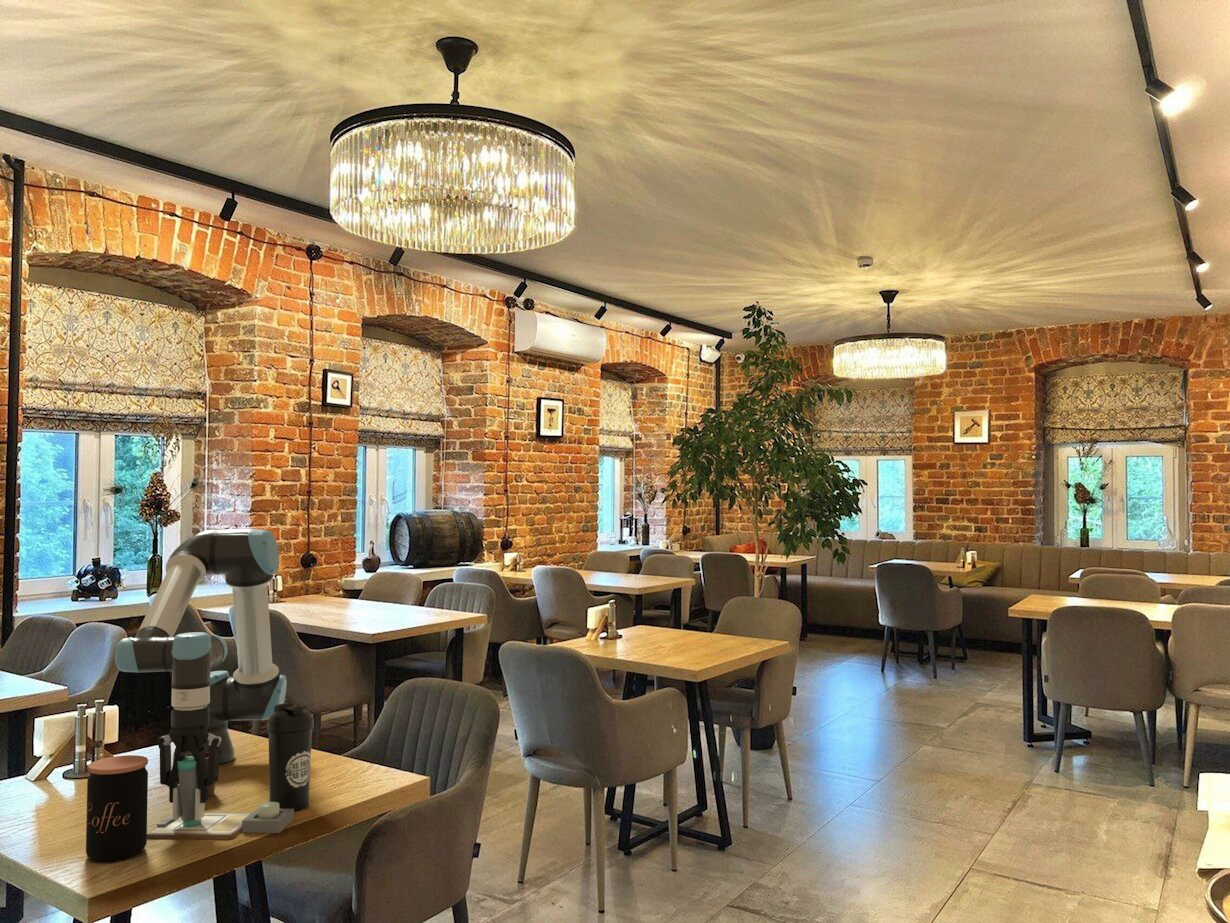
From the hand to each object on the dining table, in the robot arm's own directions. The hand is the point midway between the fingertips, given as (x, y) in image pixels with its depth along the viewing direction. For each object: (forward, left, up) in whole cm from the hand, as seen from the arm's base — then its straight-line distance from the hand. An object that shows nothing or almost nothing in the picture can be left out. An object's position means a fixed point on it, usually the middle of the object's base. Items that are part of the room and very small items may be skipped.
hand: (188, 817), depth 201 cm
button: (-4, +16, -1) cm, 16 cm away
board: (-3, +2, -3) cm, 4 cm away
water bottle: (-17, +15, -3) cm, 23 cm away
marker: (-2, 0, -2) cm, 2 cm away
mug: (-22, -10, -3) cm, 24 cm away
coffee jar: (+13, -8, -3) cm, 16 cm away
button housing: (-4, +16, -3) cm, 16 cm away
